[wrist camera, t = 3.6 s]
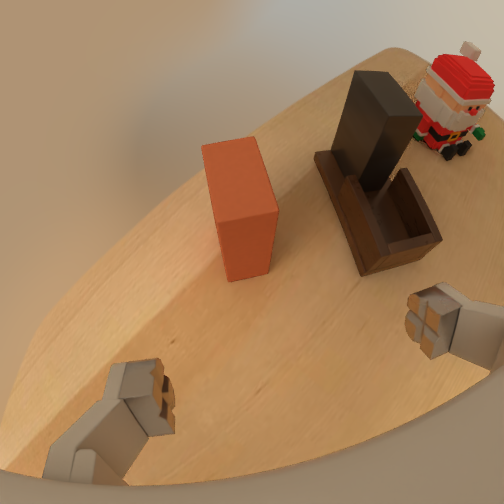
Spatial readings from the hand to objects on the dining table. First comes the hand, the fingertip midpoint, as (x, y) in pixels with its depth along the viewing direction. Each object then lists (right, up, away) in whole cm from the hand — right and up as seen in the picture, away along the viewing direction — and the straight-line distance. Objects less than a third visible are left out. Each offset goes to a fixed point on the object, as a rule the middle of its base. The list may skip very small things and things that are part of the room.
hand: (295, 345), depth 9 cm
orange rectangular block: (-2, +3, +14) cm, 15 cm away
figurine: (+20, +16, +21) cm, 33 cm away
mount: (+9, +7, +16) cm, 19 cm away
